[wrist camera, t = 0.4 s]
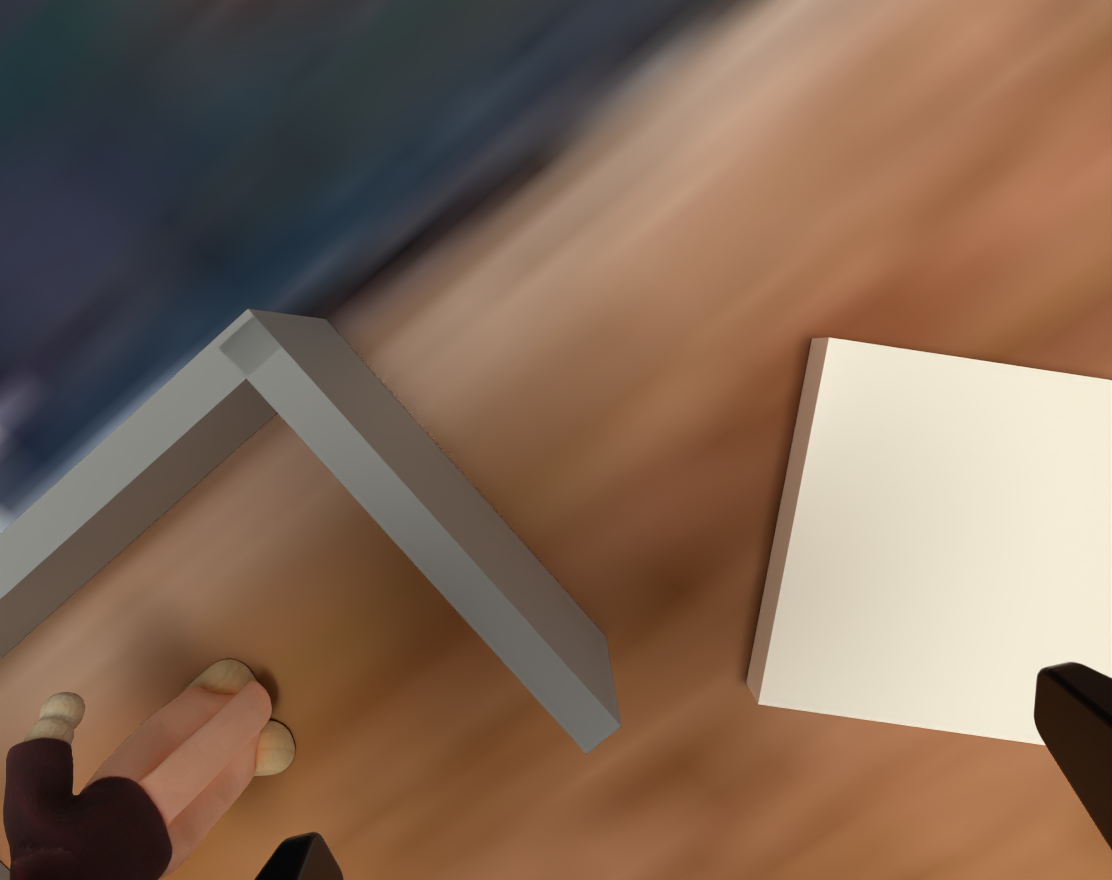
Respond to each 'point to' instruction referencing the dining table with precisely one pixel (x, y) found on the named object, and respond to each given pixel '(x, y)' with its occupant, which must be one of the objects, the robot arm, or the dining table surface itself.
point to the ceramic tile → (937, 541)
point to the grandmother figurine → (139, 782)
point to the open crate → (361, 467)
